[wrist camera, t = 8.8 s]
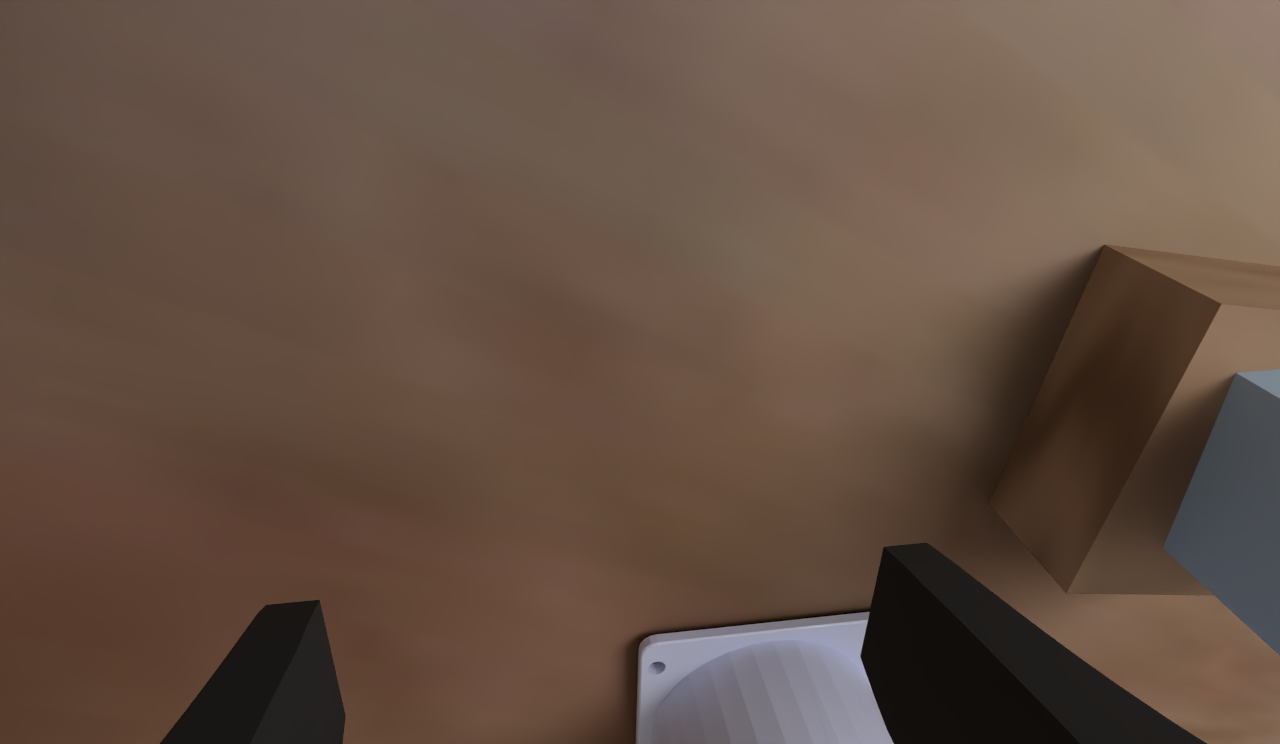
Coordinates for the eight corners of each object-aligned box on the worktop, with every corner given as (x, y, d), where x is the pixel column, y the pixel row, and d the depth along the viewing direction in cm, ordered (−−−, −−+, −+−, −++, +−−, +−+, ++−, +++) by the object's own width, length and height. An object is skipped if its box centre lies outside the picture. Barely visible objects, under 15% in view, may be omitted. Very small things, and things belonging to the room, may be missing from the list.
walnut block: (1204, 506, 26) (1315, 597, 22) (982, 497, 24) (1066, 593, 20) (1344, 271, 22) (1504, 335, 18) (1096, 240, 20) (1221, 303, 17)
